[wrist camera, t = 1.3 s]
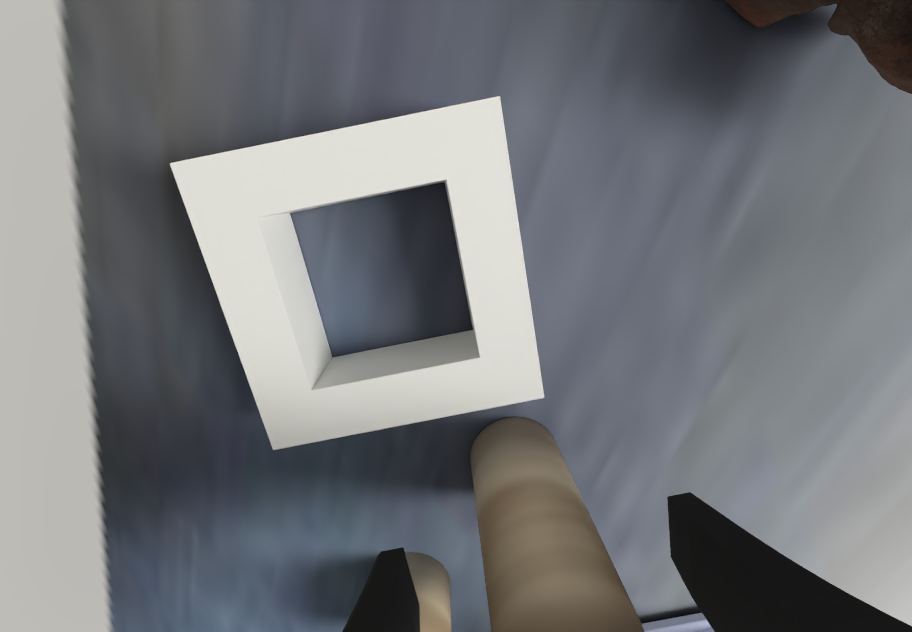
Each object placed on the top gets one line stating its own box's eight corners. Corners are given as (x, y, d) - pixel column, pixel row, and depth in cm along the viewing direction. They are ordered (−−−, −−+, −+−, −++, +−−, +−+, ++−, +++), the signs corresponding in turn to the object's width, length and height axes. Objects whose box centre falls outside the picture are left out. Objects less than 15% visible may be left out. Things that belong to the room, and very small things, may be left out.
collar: (526, 364, 15) (544, 397, 12) (299, 408, 15) (273, 450, 12) (487, 114, 12) (499, 96, 10) (220, 168, 13) (169, 163, 10)
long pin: (561, 483, 16) (649, 691, 9) (478, 499, 16) (507, 717, 9) (551, 409, 15) (640, 579, 9) (462, 426, 15) (482, 609, 9)
